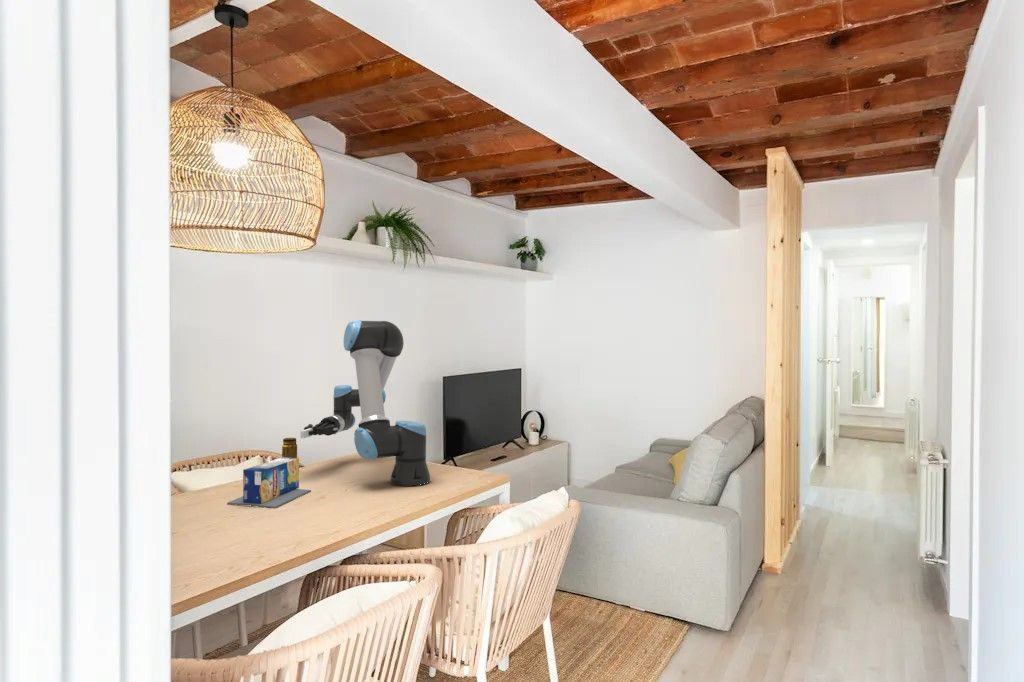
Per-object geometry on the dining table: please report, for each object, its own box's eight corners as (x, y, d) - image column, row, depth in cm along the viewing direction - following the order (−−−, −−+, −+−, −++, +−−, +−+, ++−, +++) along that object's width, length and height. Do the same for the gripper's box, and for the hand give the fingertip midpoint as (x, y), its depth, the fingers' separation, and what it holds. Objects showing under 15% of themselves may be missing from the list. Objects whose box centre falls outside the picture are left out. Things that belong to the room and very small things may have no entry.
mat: (310, 491, 231) (310, 489, 231) (275, 508, 210) (275, 506, 210) (266, 488, 235) (266, 486, 235) (227, 504, 214) (227, 502, 214)
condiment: (278, 466, 272) (278, 438, 272) (298, 463, 277) (298, 436, 277) (284, 469, 266) (285, 440, 266) (304, 466, 272) (305, 438, 271)
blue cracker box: (298, 457, 234) (261, 470, 212) (298, 487, 234) (261, 503, 213) (282, 456, 235) (243, 469, 214) (282, 486, 236) (243, 502, 214)
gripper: (346, 434, 266) (318, 445, 243) (317, 433, 269) (286, 443, 245) (346, 416, 266) (318, 425, 243) (317, 415, 268) (286, 424, 245)
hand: (302, 434), depth 244 cm, fingers closed
